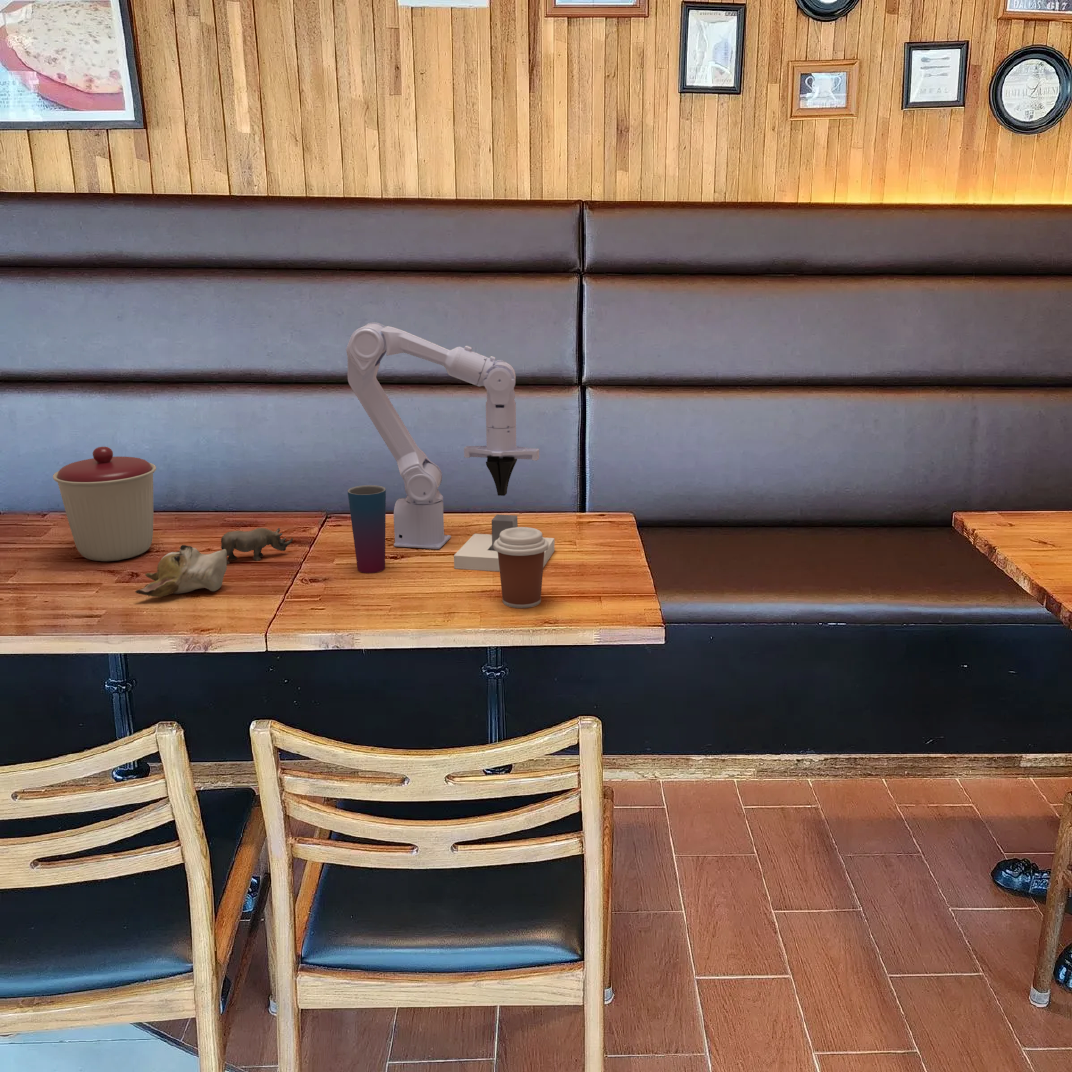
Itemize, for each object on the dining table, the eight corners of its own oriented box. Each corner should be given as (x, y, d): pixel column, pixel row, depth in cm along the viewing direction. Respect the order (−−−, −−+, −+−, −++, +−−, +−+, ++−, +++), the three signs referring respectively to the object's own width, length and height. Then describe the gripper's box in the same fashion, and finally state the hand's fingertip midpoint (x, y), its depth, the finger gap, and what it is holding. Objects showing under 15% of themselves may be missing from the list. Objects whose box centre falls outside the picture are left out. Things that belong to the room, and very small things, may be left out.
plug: (492, 561, 188) (491, 520, 186) (497, 554, 192) (496, 514, 190) (513, 562, 188) (512, 521, 185) (517, 555, 191) (517, 515, 189)
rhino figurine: (296, 557, 193) (293, 527, 191) (221, 566, 188) (218, 535, 186) (292, 551, 196) (290, 521, 195) (219, 559, 191) (216, 529, 190)
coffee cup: (509, 615, 163) (508, 544, 159) (485, 597, 171) (484, 529, 167) (558, 605, 167) (558, 536, 164) (533, 588, 175) (532, 522, 171)
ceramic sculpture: (221, 549, 169) (128, 560, 166) (229, 597, 171) (137, 609, 169) (228, 532, 179) (140, 542, 176) (235, 578, 181) (149, 588, 179)
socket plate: (454, 568, 185) (453, 555, 185) (474, 545, 198) (474, 533, 198) (539, 574, 182) (539, 560, 181) (554, 550, 195) (554, 538, 194)
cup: (397, 565, 187) (393, 487, 183) (376, 576, 181) (371, 496, 177) (366, 560, 190) (361, 483, 185) (345, 571, 184) (339, 492, 180)
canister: (43, 562, 191) (26, 453, 184) (115, 535, 207) (101, 434, 200) (118, 573, 184) (102, 460, 178) (185, 545, 200) (173, 441, 194)
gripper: (458, 428, 191) (460, 497, 195) (533, 431, 188) (534, 501, 192) (468, 421, 197) (470, 488, 201) (541, 424, 194) (541, 492, 199)
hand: (502, 494), depth 197 cm, fingers closed
